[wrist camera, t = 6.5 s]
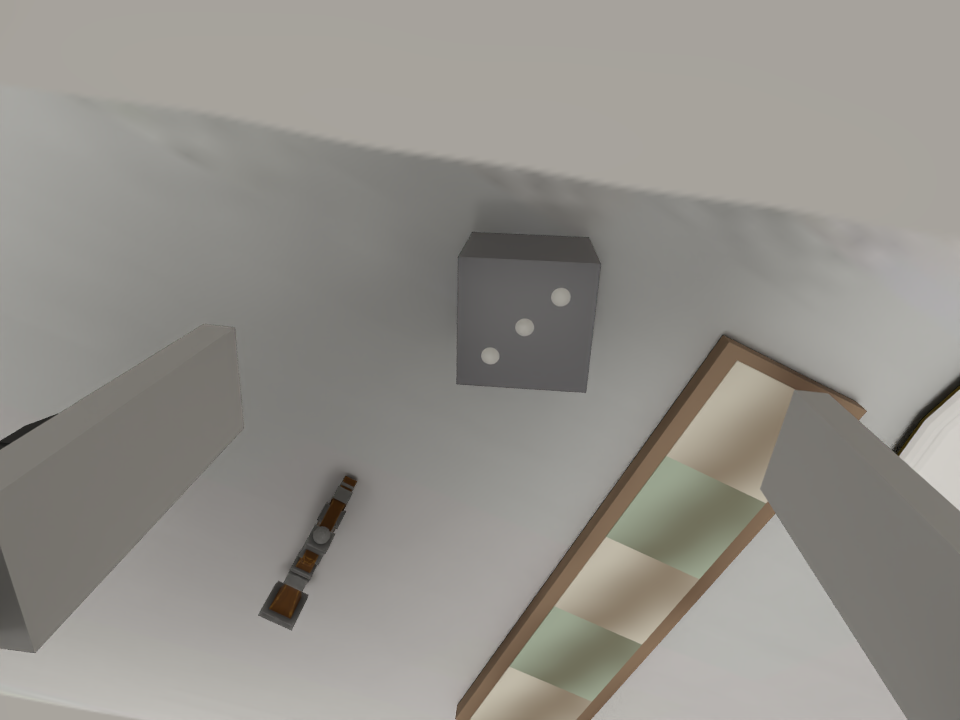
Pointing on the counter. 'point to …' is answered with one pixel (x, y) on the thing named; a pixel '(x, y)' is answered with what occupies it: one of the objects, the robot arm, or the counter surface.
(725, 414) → the board
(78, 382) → the counter surface
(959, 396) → the plate
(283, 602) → the lantern lamp post
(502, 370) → the die
